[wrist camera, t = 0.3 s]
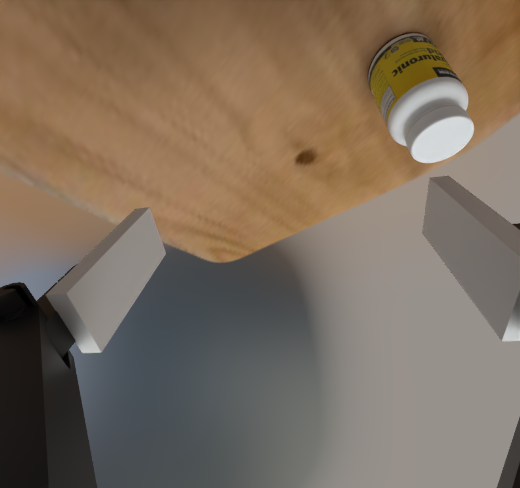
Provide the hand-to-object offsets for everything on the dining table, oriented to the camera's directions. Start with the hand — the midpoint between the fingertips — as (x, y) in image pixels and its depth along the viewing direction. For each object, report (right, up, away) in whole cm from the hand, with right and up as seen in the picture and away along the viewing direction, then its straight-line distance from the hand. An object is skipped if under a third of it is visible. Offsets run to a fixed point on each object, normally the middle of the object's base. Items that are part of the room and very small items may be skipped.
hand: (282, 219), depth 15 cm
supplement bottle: (+11, +14, +12) cm, 21 cm away
